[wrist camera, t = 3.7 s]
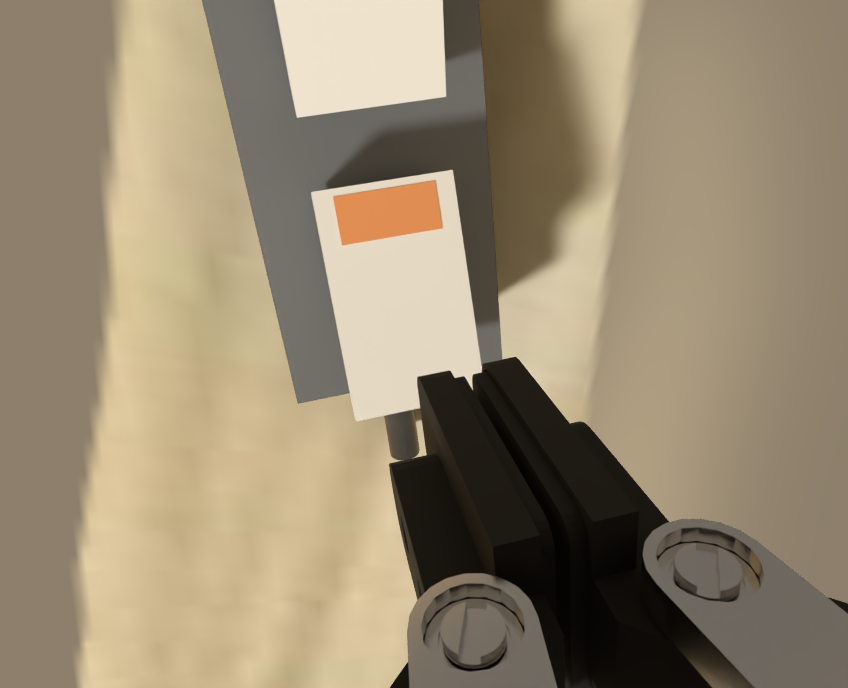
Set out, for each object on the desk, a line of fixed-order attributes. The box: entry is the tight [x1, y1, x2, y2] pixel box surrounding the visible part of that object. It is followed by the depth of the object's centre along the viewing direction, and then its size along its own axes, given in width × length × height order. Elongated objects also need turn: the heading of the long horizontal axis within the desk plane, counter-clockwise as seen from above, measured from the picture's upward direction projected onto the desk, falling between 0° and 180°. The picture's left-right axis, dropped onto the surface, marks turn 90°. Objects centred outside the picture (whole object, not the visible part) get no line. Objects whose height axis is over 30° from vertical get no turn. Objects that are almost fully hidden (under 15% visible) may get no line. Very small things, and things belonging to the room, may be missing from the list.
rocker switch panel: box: [202, 0, 502, 460], centre depth 20 cm, size 21×7×5 cm, turn 7°
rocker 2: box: [311, 170, 482, 421], centre depth 17 cm, size 6×4×2 cm, turn 6°
